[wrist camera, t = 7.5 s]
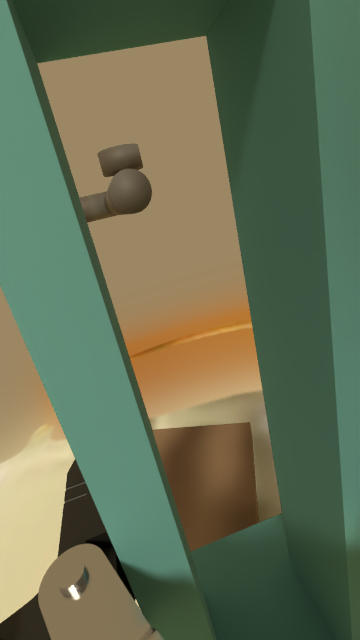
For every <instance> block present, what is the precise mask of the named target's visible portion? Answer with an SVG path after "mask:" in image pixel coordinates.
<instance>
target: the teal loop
mask: <svg viewBox="0 0 360 640" xmlns="http://www.w3.org/2000/svg"><path fill="white" fill-rule="evenodd" d="M201 36H206V37H207V43H208V50H209V56H210V62H211V68H212V74H213V81H214V87H215V93H216V99H217V106H218V112H219V119H220V125H221V131H222V137H223V144H224V150H225V156H226V163H227V169H228V174H229V182H230V188H231V194H232V200H233V207H234V213H235V219H236V226H237V232H238V237H239V244H240V251H241V257H242V263H243V269H244V276H245V282H246V288H247V295H248V301H249V307H250V314H251V320H252V326H253V333H254V339H255V345H256V351H257V358H258V364H259V369H260V376H261V382H262V389H263V395H264V402H265V408H266V414H267V421H268V427H269V433H270V439H271V446H272V452H273V458H274V465H275V471H276V477H277V484H278V490H279V496H280V502H281V509H282V513H281V514H279V515H277V516H274V517H272V518H269V519H267V520H265V521H262V522H260V523H258V524H255V525H253V526H250V527H248V528H246V529H243V530H241V531H238V532H236V533H234V534H231V535H229V536H227V537H224V538H222V539H219V540H217V541H215V542H212V543H210V544H208V545H205V546H203V547H200V548H198V549H196V550H193V551H191V552H190V548H189V545H188V542H187V539H186V536H185V532H184V529H183V526H182V523H181V520H180V517H179V513H178V510H177V507H176V504H175V501H174V497H173V494H172V491H171V488H170V485H169V482H168V478H167V475H166V472H165V469H164V466H163V463H162V459H161V456H160V453H159V450H158V447H157V443H156V440H155V437H154V434H153V431H152V428H151V424H150V421H149V418H148V415H147V412H146V408H145V405H144V403H143V399H142V396H141V393H140V389H139V387H138V383H137V380H136V377H135V374H134V371H133V367H132V364H131V361H130V358H129V355H128V351H127V348H126V345H125V342H124V338H123V335H122V332H121V329H120V326H119V323H118V320H117V316H116V314H115V310H114V307H113V304H112V300H111V297H110V294H109V291H108V288H107V284H106V281H105V278H104V275H103V272H102V269H101V265H100V262H99V259H98V256H97V253H96V249H95V246H94V243H93V240H92V237H91V234H90V230H89V227H88V224H87V221H86V218H85V214H84V211H83V208H82V205H81V202H80V199H79V195H78V192H77V189H76V186H75V183H74V179H73V176H72V174H71V170H70V167H69V164H68V161H67V158H66V154H65V151H64V148H63V145H62V142H61V138H60V135H59V132H58V129H57V125H56V122H55V119H54V116H53V113H52V110H51V106H50V103H49V100H48V97H47V94H46V90H45V87H44V84H43V81H42V78H41V75H40V71H39V68H38V65H37V63H42V62H48V61H54V60H60V59H66V58H72V57H78V56H84V55H90V54H96V53H103V52H109V51H115V50H121V49H127V48H133V47H139V46H145V45H152V44H158V43H164V42H170V41H176V40H182V39H188V38H195V37H201ZM0 286H1V288H2V290H3V293H4V295H5V297H6V300H7V302H8V304H9V307H10V309H11V311H12V313H13V316H14V318H15V320H16V323H17V325H18V327H19V330H20V332H21V334H22V337H23V339H24V341H25V344H26V346H27V348H28V350H29V353H30V355H31V357H32V360H33V362H34V364H35V367H36V369H37V371H38V374H39V376H40V378H41V381H42V382H43V385H44V387H45V390H46V392H47V394H48V397H49V399H50V401H51V404H52V406H53V408H54V411H55V413H56V415H57V417H58V420H59V422H60V424H61V427H62V429H63V431H64V434H65V436H66V438H67V440H68V443H69V445H70V447H71V450H72V452H73V454H74V457H75V459H76V461H77V464H78V466H79V468H80V470H81V473H82V475H83V477H84V480H85V482H86V484H87V487H88V489H89V491H90V494H91V496H92V498H93V500H94V503H95V505H96V507H97V510H98V512H99V514H100V517H101V519H102V521H103V524H104V526H105V528H106V530H107V533H108V535H109V537H110V540H111V542H112V544H113V547H114V549H115V551H116V554H117V556H118V558H119V560H120V563H121V565H122V567H123V570H124V572H125V574H126V577H127V579H128V581H129V584H130V586H131V588H132V590H133V593H134V595H135V597H136V600H137V602H138V604H139V607H140V609H141V611H142V614H143V615H144V617H145V618H146V620H147V621H148V623H149V624H150V626H151V627H152V628H155V629H156V630H157V631H158V632H159V633H160V635H161V636H162V638H163V639H164V640H360V0H0Z"/></svg>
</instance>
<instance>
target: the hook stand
mask: <svg viewBox="0 0 360 640" xmlns="http://www.w3.org/2000/svg"><path fill="white" fill-rule="evenodd" d="M98 158H99V161H100V165H101V168H102V172H103V175H104V176H105V177H109V176H114V177H113V179H112V181H111V183H110V185H109V188H108V190H107V192H103V193H98V194H94V195H90V196H85V197H81V198H79V199H80V202H81V205H82V208H83V211H84V214H85V218H86V221H87V222H91V221H96V220H100V219H103V218H108V217H112V216H116V215H122V214H133V213H138V212H141V211H142V210H144V209H145V208H146V207H147V206H148V204H149V202H150V200H151V195H152V189H151V185H150V183H149V180H148V179H147V177H146V176H145V175H144V174H143V173H141V172H140V171H138V170H139V169H141V168H143V164H142V160H141V156H140V152H139V148H138V145H137V144H124V145H119V146H115V147H111V148H108V149H105V150H102V151H100V152H99V153H98ZM152 431H153V434H154V437H155V440H156V443H157V447H158V450H159V453H160V456H161V459H162V463H163V466H164V469H165V472H166V475H167V478H168V482H169V485H170V488H171V491H172V494H173V497H174V501H175V504H176V507H177V510H178V513H179V517H180V520H181V523H182V526H183V529H184V532H185V536H186V539H187V542H188V545H189V548H190V552H191V551H193V550H196V549H198V548H200V547H203V546H205V545H208V544H210V543H212V542H215V541H217V540H219V539H222V538H224V537H227V536H229V535H231V534H234V533H236V532H238V531H241V530H243V529H246V528H248V527H250V526H253V525H255V524H258V523H259V522H258V508H257V494H256V481H255V467H254V454H253V440H252V432H251V426H250V422H248V423H235V424H222V425H209V426H196V427H183V428H170V429H157V430H152Z"/></svg>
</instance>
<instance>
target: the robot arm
mask: <svg viewBox="0 0 360 640" xmlns="http://www.w3.org/2000/svg"><path fill="white" fill-rule="evenodd" d="M64 501H65V504H64V508H63V517H62V526H61V534H60V543H59V552H58V558H57V559H56V560H55V561H54V562H53V563H52V564H51V566H50V567H49V569H48V570H47V572H46V573H45V575H44V577H43V580H42V582H41V585H40V588H39V592H38V594H37V595H36V596H35V597H34V598H33V599H32V600H30V601H29V602H28V603H27V604H26V605H24V606H23V607H22V608H20V609H19V610H18V611H16V612H15V613H14V614H12V615H11V616H10V617H8V618H7V619H6V620H4V621H3V622H2V623H0V640H164V639H163V638H162V636H161V635H160V633H159V632H158V631H157V630H156V629H155V628H152V627H151V626H150V624H149V623H148V621H147V620H146V618H145V617H144V615H143V614H142V612H141V610H140V609H139V607H138V606H137V604H136V603H135V599H136V597H135V595H134V593H133V590H132V588H131V586H130V584H129V581H128V579H127V577H126V574H125V572H124V570H123V567H122V565H121V563H120V560H119V558H118V556H117V554H116V551H115V549H114V547H113V544H112V542H111V540H110V537H109V535H108V533H107V530H106V528H105V526H104V524H103V521H102V519H101V517H100V514H99V512H98V510H97V507H96V505H95V503H94V500H93V498H92V496H91V494H90V491H89V489H88V487H87V484H86V482H85V480H84V477H83V475H82V473H81V470H80V468H79V466H78V464H77V461H76V459H75V460H74V462H73V464H72V466H71V468H70V469H69V471H68V473H67V482H66V491H65V499H64Z"/></svg>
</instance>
